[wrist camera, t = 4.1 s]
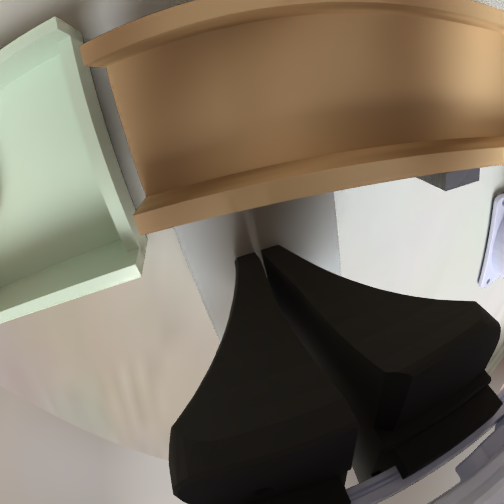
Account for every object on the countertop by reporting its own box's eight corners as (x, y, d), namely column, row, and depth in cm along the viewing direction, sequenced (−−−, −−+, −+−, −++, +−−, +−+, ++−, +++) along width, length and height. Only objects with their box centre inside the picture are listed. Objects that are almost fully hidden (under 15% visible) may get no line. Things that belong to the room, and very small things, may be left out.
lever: (539, 39, 6) (577, 44, 3) (532, 246, 11) (559, 271, 9) (112, 52, 7) (71, 44, 5) (210, 332, 13) (207, 381, 10)
